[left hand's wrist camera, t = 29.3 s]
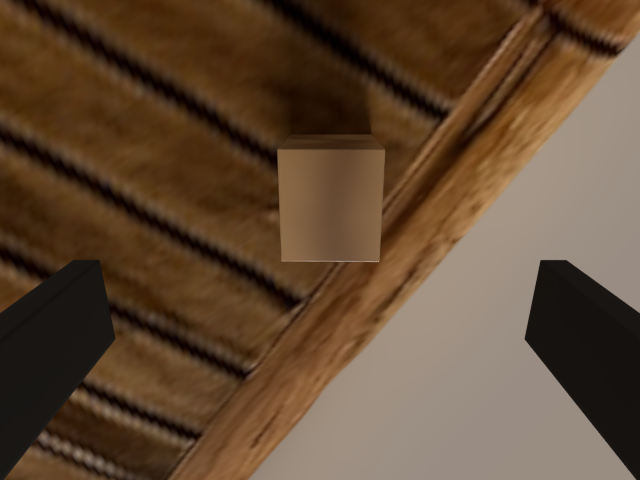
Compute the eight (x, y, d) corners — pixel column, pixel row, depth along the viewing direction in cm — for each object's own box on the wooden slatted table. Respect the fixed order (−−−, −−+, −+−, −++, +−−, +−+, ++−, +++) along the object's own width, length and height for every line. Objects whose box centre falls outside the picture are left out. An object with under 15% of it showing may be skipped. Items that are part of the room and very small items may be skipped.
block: (291, 222, 31) (281, 261, 24) (289, 134, 29) (277, 149, 22) (368, 223, 31) (379, 262, 24) (371, 134, 29) (385, 149, 22)
